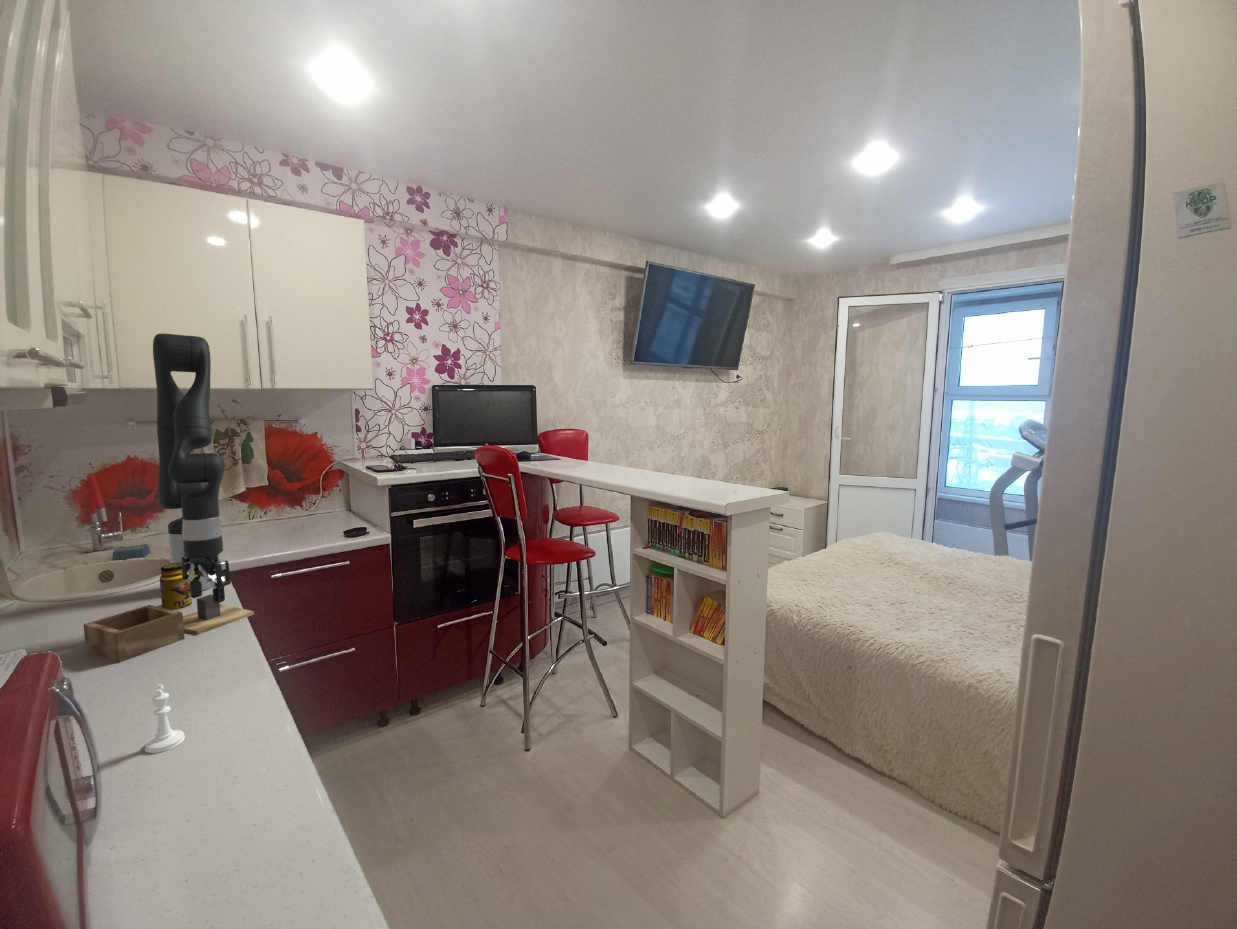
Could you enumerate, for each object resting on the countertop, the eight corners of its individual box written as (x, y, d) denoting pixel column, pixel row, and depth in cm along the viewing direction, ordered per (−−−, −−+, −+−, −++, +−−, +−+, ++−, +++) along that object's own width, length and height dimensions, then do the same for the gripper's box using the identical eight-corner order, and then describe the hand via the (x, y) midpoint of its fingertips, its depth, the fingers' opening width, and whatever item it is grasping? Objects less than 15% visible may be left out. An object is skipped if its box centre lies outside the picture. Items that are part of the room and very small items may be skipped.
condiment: (192, 610, 139) (188, 566, 138) (149, 617, 134) (145, 571, 133) (195, 601, 145) (191, 559, 144) (154, 608, 140) (150, 564, 139)
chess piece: (139, 756, 82) (132, 695, 81) (152, 737, 87) (146, 680, 85) (178, 748, 84) (173, 689, 83) (189, 730, 89) (184, 674, 87)
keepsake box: (86, 655, 114) (83, 624, 113) (152, 633, 125) (149, 604, 124) (120, 666, 110) (116, 633, 109) (184, 642, 121) (182, 612, 120)
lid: (163, 630, 128) (160, 602, 127) (220, 610, 140) (218, 585, 139) (198, 639, 123) (196, 610, 122) (254, 618, 135) (252, 592, 134)
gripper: (238, 535, 130) (242, 598, 132) (200, 528, 135) (205, 590, 137) (205, 542, 123) (210, 609, 125) (166, 535, 128) (172, 600, 130)
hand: (207, 599), depth 131 cm, fingers open, 8 cm apart
